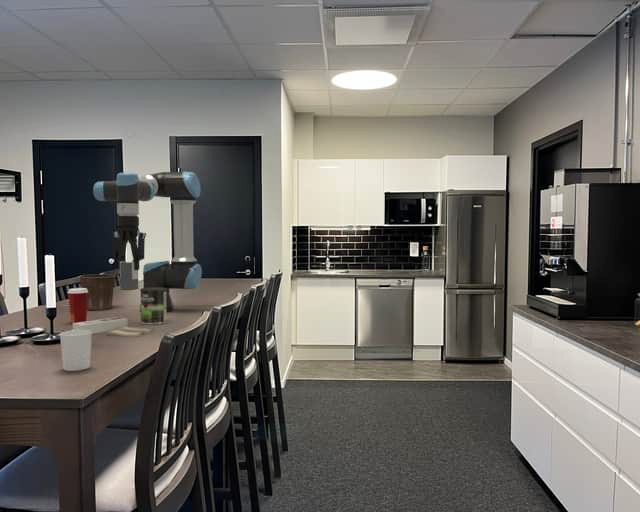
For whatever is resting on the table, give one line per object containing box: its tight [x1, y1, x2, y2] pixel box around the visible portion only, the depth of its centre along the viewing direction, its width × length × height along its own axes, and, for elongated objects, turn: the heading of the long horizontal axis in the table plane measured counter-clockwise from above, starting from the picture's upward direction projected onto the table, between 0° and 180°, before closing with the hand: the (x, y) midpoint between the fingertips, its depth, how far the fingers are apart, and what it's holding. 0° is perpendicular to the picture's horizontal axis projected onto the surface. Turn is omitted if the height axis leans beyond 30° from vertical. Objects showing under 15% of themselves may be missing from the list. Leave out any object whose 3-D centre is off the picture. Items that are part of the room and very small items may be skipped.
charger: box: [119, 261, 139, 291], centre depth 190 cm, size 5×4×10 cm
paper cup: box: [67, 287, 88, 325], centre depth 209 cm, size 8×8×14 cm
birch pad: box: [105, 326, 155, 338], centre depth 191 cm, size 12×12×1 cm
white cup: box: [59, 329, 92, 372], centre depth 142 cm, size 8×8×10 cm
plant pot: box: [79, 273, 117, 311], centre depth 246 cm, size 16×16×16 cm
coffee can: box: [139, 287, 168, 326], centre depth 211 cm, size 10×10×14 cm
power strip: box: [72, 315, 129, 335], centre depth 195 cm, size 18×7×5 cm, turn 142°
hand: (128, 278), depth 189 cm, fingers closed on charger, 4 cm apart
